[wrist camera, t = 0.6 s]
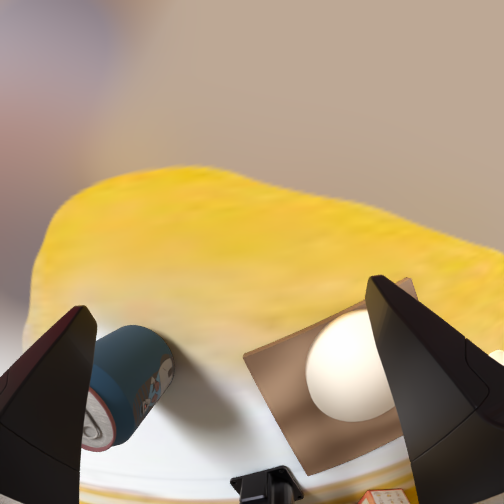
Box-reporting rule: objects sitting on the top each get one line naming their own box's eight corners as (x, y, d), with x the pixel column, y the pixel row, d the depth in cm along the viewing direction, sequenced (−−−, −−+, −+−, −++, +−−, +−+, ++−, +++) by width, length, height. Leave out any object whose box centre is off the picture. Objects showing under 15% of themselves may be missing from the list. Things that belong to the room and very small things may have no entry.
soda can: (102, 336, 26) (21, 379, 14) (155, 310, 25) (79, 351, 13) (136, 396, 25) (76, 462, 13) (192, 375, 25) (145, 452, 13)
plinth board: (439, 406, 24) (452, 418, 21) (307, 470, 25) (309, 488, 22) (406, 277, 24) (421, 280, 21) (243, 353, 25) (240, 366, 22)
